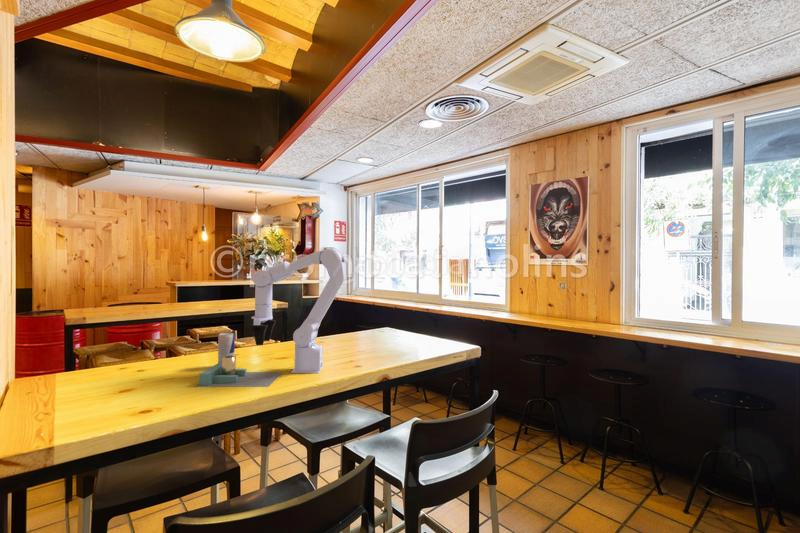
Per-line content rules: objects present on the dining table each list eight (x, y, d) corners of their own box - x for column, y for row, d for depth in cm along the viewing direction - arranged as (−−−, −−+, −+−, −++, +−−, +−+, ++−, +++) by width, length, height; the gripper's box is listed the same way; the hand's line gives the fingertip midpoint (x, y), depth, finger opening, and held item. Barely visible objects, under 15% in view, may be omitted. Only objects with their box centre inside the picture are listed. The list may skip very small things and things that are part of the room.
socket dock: (249, 372, 131) (249, 362, 131) (232, 385, 117) (232, 374, 117) (219, 372, 131) (219, 362, 131) (199, 385, 117) (199, 373, 117)
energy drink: (237, 365, 141) (237, 332, 141) (229, 369, 136) (229, 335, 136) (223, 365, 141) (223, 332, 141) (214, 368, 136) (215, 334, 136)
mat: (282, 372, 132) (282, 372, 132) (268, 387, 116) (268, 386, 116) (217, 372, 132) (217, 372, 132) (194, 387, 116) (194, 386, 116)
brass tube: (237, 377, 126) (237, 355, 126) (232, 380, 122) (232, 358, 122) (225, 377, 126) (225, 355, 126) (219, 380, 122) (220, 358, 122)
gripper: (259, 302, 143) (258, 338, 143) (244, 306, 129) (244, 347, 129) (278, 302, 143) (277, 339, 143) (266, 306, 129) (265, 347, 129)
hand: (263, 342), depth 136 cm, fingers open, 7 cm apart
